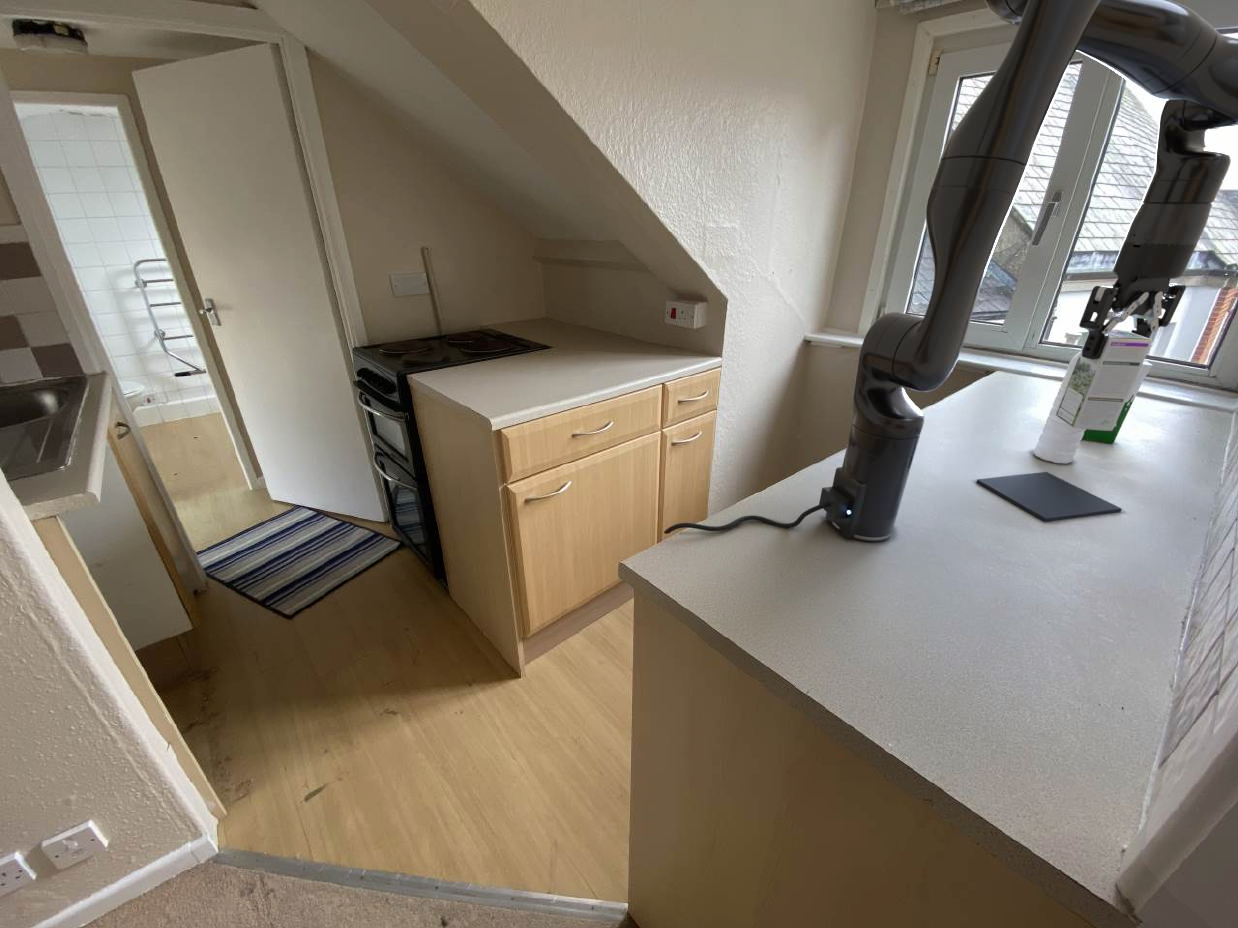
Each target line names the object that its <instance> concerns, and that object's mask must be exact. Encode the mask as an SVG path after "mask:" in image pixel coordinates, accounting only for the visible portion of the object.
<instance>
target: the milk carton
mask: <svg viewBox="0 0 1238 928" xmlns="http://www.w3.org/2000/svg"><path fill="white" fill-rule="evenodd" d="M1153 366H1154V364H1152V363H1150V362H1149V361H1148V360H1147V359H1144V362H1143V364H1142V366H1141V368H1140V371H1139V373H1138V375H1137V377H1136V379H1135V382H1134V384H1133V386H1132V388H1131V391H1130V393H1129V395H1128V397H1127V399H1126V402H1125V404H1124V406H1123V408H1122V411H1121V413H1120V415H1119V417H1118V419H1117V422H1116V424H1115V426H1114V428H1113V430H1112V431H1104V430H1089V429H1086V430H1085V431H1084V435H1083V438H1082V439H1081V440H1085V441H1092V442H1099V443H1108V444H1114V443H1115V441H1116V439H1117V437H1118V434H1119V433H1120V430H1121V428H1122V426H1123V424H1124V421H1125V420H1126V417H1127V415H1128V413H1129V411H1130V409H1131V407H1132V405H1133V403H1134V401H1135V398H1136V396H1137V395H1138V392H1139V390H1140V388H1141V386H1142V383H1143V382H1144V380H1145V378H1147V375H1148V374H1149V372H1150V371H1151V369H1152V367H1153Z"/></svg>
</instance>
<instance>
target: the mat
mask: <svg viewBox="0 0 1238 928" xmlns="http://www.w3.org/2000/svg"><path fill="white" fill-rule="evenodd" d="M976 483H977V484H979V485H980V486H983V487H984V488H986V489H987V490H990V491H991V492H993V493H995V494H997V495H998V496H999V497H1001V498H1003V499H1005V500H1007V501H1008V502H1010V503H1011V504H1013V505H1015V506H1017V507H1019V508H1020V509H1022V510H1024V511H1026V512H1027V513H1029V514H1031V515H1033V516H1034V517H1036V518H1037V519H1040V520H1041V521H1043V522H1053V521H1058V520H1066V519H1067V520H1068V519H1075V518H1082V517H1083V518H1084V517H1089V516H1090V517H1091V516H1097V515H1104V514H1105V515H1106V514H1113V513H1118V512H1120V513H1121V512H1122V509H1123V508H1122V507H1120V506H1118V505H1115V504H1114V503H1111V502H1110V501H1107V500H1105V499H1103V498H1101V497H1099V496H1097V495H1096V494H1093V493H1091V492H1089V491H1086V490H1085V489H1083V488H1080V487H1078V486H1076V485H1074V484H1073V483H1070V482H1068V481H1066V480H1065V479H1062V478H1060V477H1058V476H1056V475H1054V474H1052V473H1050V472H1047V471H1043V472H1042V471H1041V472H1033V473H1024V474H1014V475H1006V476H997V477H996V476H995V477H987V478H979V479H978V478H977V479H976Z"/></svg>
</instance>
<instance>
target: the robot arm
mask: <svg viewBox="0 0 1238 928" xmlns="http://www.w3.org/2000/svg"><path fill="white" fill-rule="evenodd" d="M984 2H985V4H986V5H987V8H988V9H989V11H990V12H991V13H992V14H993V15H994V16H995V17H996V18H998V20H1001V21H1003V22H1005V23H1006V24H1009V25H1012V26H1014V27H1017V29H1016V32H1015V34H1014V36H1013V38H1012V41H1011V43H1010V46H1009V48H1008V50H1007V52H1006V53H1005V56H1004V58H1003V59H1002V61H1001V63H1000V64H999V66H998V68H997V70H996V71H995V72H994V74H993V75H992V77H991V78H990V80H989V81H988V82H987V84H986V85H985V87H984V88H983V89H982V90H981V92H980V93H979V94H978V96H977V97H976V99H975V100H974V101H973V103H972V104H971V105H970V107H969V109H968V110H967V111H966V112H965V114H964V115H963V116H962V119H960V121H959V122H958V123H957V125H956V127H955V129H954V130H953V132H952V133H951V134H950V136H949V138H948V140H947V141H946V144H945V146H944V148H943V150H942V153H941V155H940V159H939V161H938V164H937V167H936V170H935V173H934V176H933V179H932V182H931V185H930V187H929V190H928V193H927V197H926V201H925V202H926V203H925V209H924V211H925V212H924V215H925V225H926V232H927V236H928V240H929V245H930V251H931V255H932V261H933V262H932V263H933V272H934V273H933V284H932V289H931V294H930V298H929V302H928V305H927V307H926V312H925V314H924V317H923V316H918V315H913V314H909V313H905V312H904V313H903V312H888V313H885V314H882V315H881V316H880V317H878V318H876V320H875V321H873V323H872V324H871V326H870V327H869V329H868V330H867V332H866V334H865V336H864V339H863V341H862V344H861V348H860V350H859V356H858V361H857V367H856V374H855V380H854V385H853V386H854V387H853V392H852V398H851V403H852V410H853V417H852V423H851V426H850V431H849V434H848V435H849V436H848V441H847V445H846V449H845V452H844V457H843V462H842V466H839V467H836V469H835V471H834V477H833V480H832V481H833V482H832V485H831V486H826V487H821V492H820V498H819V502H818V505H815V506H812V507H810V508H809V509H807V510H805V511H803V512H802V513H800V515H799V516H798V517H797V518H796V520H794V521H793V522H789V523H784V522H779V521H775V520H772V519H770V518H767V517H764V516H761V515H752V514H751V515H745V516H741V517H739V518H737V519H735V520H733V521H731V522H729V523H728V524H724V525H719V526H714V525H713V526H712V525H705V524H700V523H693V522H681V523H676V524H673V525H671V526H669V527H667V528H666V529H665V530H664V531H663V534H665V535H669V534H671V533H672V532H674V531H676V530H679V529H684V528H688V529H695V530H700V531H707V532H723V531H726V530H730V529H732V528H734V527H736V526H737V525H739V524H741V523H743V522H748V521H759V522H762V523H765V524H768V525H771V526H774V527H777V528H783V529H792V528H795V527H797V526H799V525H800V524H801V523H802V522H803V520H804V519H805V518H806V517H807V516H810V515H811V514H813V513H815V512H817V511H820V510H823V511H825V512H826V513H825V517H824V519H825V520H826V521H827V522H828V523H829V524H831V526H833V528H834V529H835V530H837V531H838V533H840V535H842V536H843V537H844V538H845V539H855V540H859V541H863V542H881V541H885V540H888V539H891V537H892V535H893V533H894V530H895V529H894V527H895V524H896V521H897V517H898V513H899V510H900V506H901V503H902V500H903V496H904V492H905V490H906V485H907V482H908V478H909V476H910V471H911V469H912V466H913V462H914V459H915V455H916V452H917V448H918V444H919V441H920V437H921V435H922V430H923V427H924V424H925V415H924V413H923V411H922V410H921V409H920V408H919V407H918V406H917V404H915V402H914V401H912V400H911V398H910V397H909V396H908V394H907V392H906V390H905V388H906V389H910V390H912V391H915V392H920V393H929V392H933V391H934V390H937V389H938V388H939V387H941V386H942V384H944V383H945V381H947V379H948V378H949V377H950V375H951V374H952V372H953V370H954V369H955V366H956V364H957V362H958V359H959V357H960V355H961V352H962V349H963V346H964V343H965V340H966V337H967V334H968V330H969V327H970V323H971V320H972V317H973V312H974V311H975V310H974V309H975V306H976V304H977V300H978V297H979V293H980V290H981V287H982V283H983V280H984V277H985V275H986V272H987V269H988V266H989V264H990V260H991V258H992V255H993V253H994V250H995V247H996V245H997V243H998V240H999V237H1000V235H1001V233H1002V229H1003V227H1004V225H1005V223H1006V220H1007V218H1008V216H1009V214H1010V211H1011V209H1012V206H1013V204H1014V202H1015V199H1016V197H1017V194H1018V192H1019V190H1020V187H1021V185H1022V182H1023V180H1024V178H1025V175H1026V172H1027V168H1028V167H1029V164H1030V161H1031V158H1032V156H1033V153H1034V150H1035V147H1036V145H1037V141H1038V139H1039V137H1040V134H1041V132H1042V129H1043V126H1044V124H1045V122H1046V119H1047V118H1048V115H1049V112H1050V110H1051V108H1052V105H1053V103H1054V101H1055V98H1056V96H1057V94H1058V92H1059V89H1060V87H1061V84H1062V82H1063V80H1064V77H1065V75H1066V73H1067V70H1068V68H1069V65H1070V63H1071V61H1072V59H1073V58H1074V55H1075V53H1076V52H1079V53H1081V54H1083V55H1085V56H1087V57H1089V58H1091V59H1093V60H1095V61H1097V62H1099V63H1100V64H1102V65H1104V66H1106V67H1107V68H1109V69H1110V70H1112V71H1114V72H1115V73H1116V74H1118V75H1119V76H1121V77H1122V78H1124V80H1126V81H1127V82H1129V83H1130V84H1132V85H1133V86H1134V87H1135V88H1137V89H1138V90H1140V91H1141V93H1144V94H1145V95H1147V96H1148V97H1150V98H1152V99H1155V100H1160V101H1164V103H1163V105H1162V107H1161V110H1160V111H1161V112H1160V115H1159V121H1158V131H1157V133H1158V134H1157V141H1156V142H1157V143H1156V151H1155V163H1154V171H1153V174H1152V176H1151V179H1150V181H1149V183H1148V185H1147V188H1146V190H1145V193H1144V195H1143V198H1142V200H1141V203H1140V205H1139V207H1138V209H1137V211H1136V212H1135V214H1134V216H1133V218H1132V220H1131V222H1130V224H1129V227H1128V230H1127V232H1126V234H1125V237H1124V240H1123V242H1122V244H1121V247H1120V249H1119V252H1118V255H1117V257H1116V259H1115V262H1114V265H1113V267H1112V273H1113V274H1114V275H1116V276H1117V278H1116V280H1115V281H1114V283H1113V284H1112V286H1104V285H1103V286H1102V285H1095V286H1094V287H1092V289H1091V293H1090V295H1089V298H1088V300H1087V303H1086V306H1085V307H1084V310H1083V313H1082V316H1081V319H1080V322H1079V324H1078V326H1079V328H1081V329H1085V330H1087V331H1088V332H1089V335H1088V334H1087V335H1088V338H1087V340H1086V339H1085V340H1086V343H1085V345H1084V344H1083V345H1084V348H1083V350H1082V349H1081V350H1082V356H1083V357H1085V358H1088V359H1092V360H1094V359H1099V358H1100V356H1101V354H1102V351H1103V349H1104V346H1105V344H1106V341H1107V339H1108V337H1109V335H1107V334H1108V333H1109V332H1110V331H1111V330H1114V328H1115V327H1116V326H1117V325H1118V324H1119V323H1123V322H1125V321H1126V320H1127V319H1128V317H1131V318H1132V319H1133V328H1134V329H1131V331H1130V332H1132V333H1135V334H1138V335H1141V336H1144V337H1147V338H1149V339H1151V336H1152V333H1154V332H1156V331H1157V330H1158V329H1159V328H1166V327H1168V326H1169V325H1170V323H1171V321H1172V319H1173V317H1174V315H1175V312H1176V310H1177V308H1178V306H1179V304H1180V302H1181V300H1182V298H1183V296H1184V294H1185V291H1186V289H1187V285H1185V284H1179V283H1171V279H1172V280H1173V279H1178V278H1180V277H1182V276H1183V275H1184V273H1185V271H1186V270H1187V267H1188V264H1189V263H1190V261H1191V259H1192V257H1193V254H1194V251H1195V250H1196V248H1197V245H1198V243H1199V241H1200V238H1201V236H1202V234H1203V232H1204V230H1205V228H1206V226H1207V223H1208V220H1209V217H1210V213H1211V209H1212V207H1213V203H1215V200H1216V198H1217V195H1218V193H1219V191H1220V190H1221V187H1222V185H1223V183H1224V180H1225V178H1226V176H1227V173H1228V172H1229V168H1230V166H1231V160H1232V159H1231V158H1232V157H1231V156H1230V155H1229V154H1228V153H1226V152H1223V151H1218V150H1212V149H1207V145H1206V135H1207V131H1208V130H1209V131H1210V130H1218V129H1220V130H1221V129H1230V128H1237V127H1238V38H1236V37H1232V36H1227V35H1223V34H1221V33H1220V32H1219V31H1218V30H1217V29H1216V28H1215V27H1214V26H1213V25H1211V24H1210V23H1209V22H1208V21H1207V20H1205V19H1204V18H1203V17H1202V16H1200V15H1199V14H1198V13H1197V12H1196V11H1194V10H1193V9H1191V8H1190V7H1188V6H1186V5H1185V4H1182V3H1179V2H1178V1H1175V0H984ZM1163 310H1164V312H1163ZM1094 313H1096V316H1095V318H1093V315H1094ZM1162 314H1163V315H1162ZM1092 318H1093V320H1092ZM1105 321H1107V322H1106V323H1105Z"/></svg>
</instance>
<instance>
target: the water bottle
mask: <svg viewBox="0 0 1238 928" xmlns="http://www.w3.org/2000/svg"><path fill="white" fill-rule="evenodd" d="M1082 337H1083V333H1080V332H1075V331H1066V332H1065V335H1064V338H1065V339H1069V340H1075V341H1076V340H1077V341H1079V340H1081V339H1082ZM1080 352H1081V350H1080V351H1078V353H1076V354H1075V355H1073V357H1072V358H1071V359H1070V361H1069V363H1068V366H1067V369H1066V372H1065V374H1064V376H1063V379H1062V380H1061V384H1060V387H1059V388H1058V392H1057V393H1056V396H1055V398H1054V401H1053V403H1052V406H1051V408H1050V410H1049V413H1048V416H1047V418H1046V420H1045V424H1044V426H1043V427H1042V430H1041V433H1040V435H1039V438H1038V442H1036V445H1035V448H1034V450H1033V454H1034V455H1035V456H1036V457H1037V458H1039V459H1041V460H1043V461H1046V462H1051V463H1054V464H1066V465H1067V464H1070V463H1072V462H1073V460H1074V458H1075V456H1076V453H1077V450H1078V449H1079V446H1080V444H1081V441H1082V440H1083V439H1082V438H1083V435H1084V431H1085V430H1086V429H1080V428H1074V427H1072V426H1071V425H1069V424H1068V423H1066V422H1065V421H1063V420H1062V419H1061V418H1059V417H1058V416H1056V413H1057V411H1058V408H1059V406H1060V403H1061V400H1062V398H1063V395H1064V393H1065V390H1066V388H1067V385H1068V383H1069V380H1070V378H1071V375H1072V373H1073V370H1074V368H1075V365H1076V362H1077V360H1078V357H1079V355H1080Z"/></svg>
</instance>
